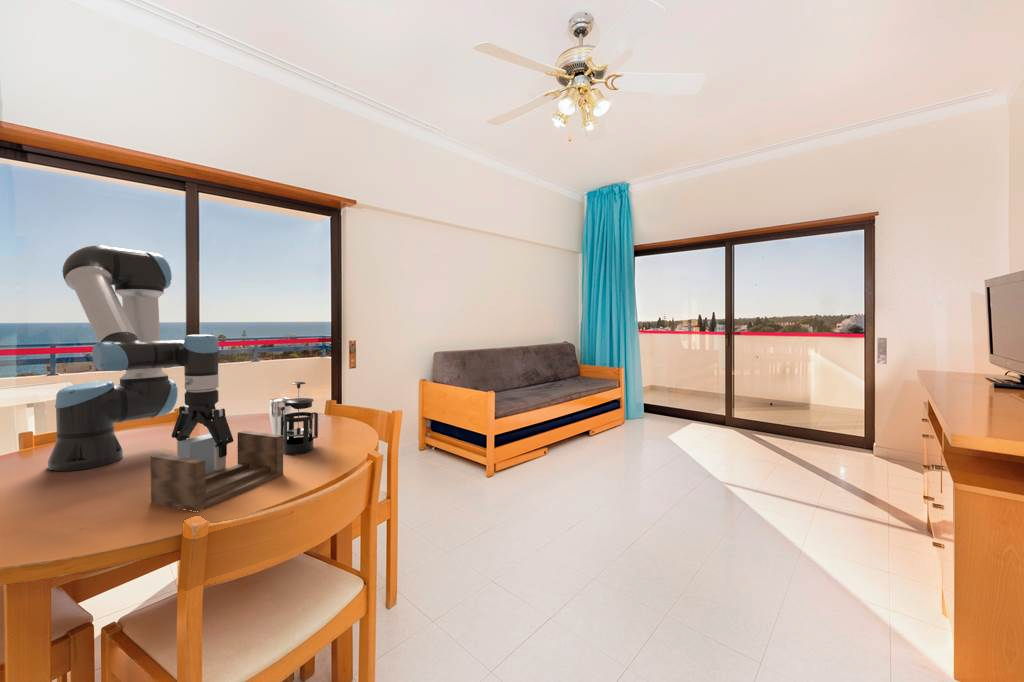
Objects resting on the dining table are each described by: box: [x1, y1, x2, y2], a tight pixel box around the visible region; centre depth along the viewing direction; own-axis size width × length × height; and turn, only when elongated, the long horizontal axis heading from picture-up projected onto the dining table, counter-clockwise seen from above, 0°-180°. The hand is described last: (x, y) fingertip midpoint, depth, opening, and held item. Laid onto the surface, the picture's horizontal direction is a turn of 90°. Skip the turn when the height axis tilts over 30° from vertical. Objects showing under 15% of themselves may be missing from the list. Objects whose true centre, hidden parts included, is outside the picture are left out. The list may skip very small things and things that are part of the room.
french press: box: [283, 381, 319, 456], centre depth 134 cm, size 12×9×23 cm
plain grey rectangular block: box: [176, 432, 226, 476], centre depth 113 cm, size 4×10×10 cm, turn 165°
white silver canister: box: [268, 397, 293, 441], centre depth 144 cm, size 7×7×15 cm
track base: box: [150, 430, 284, 513], centre depth 104 cm, size 14×24×11 cm, turn 165°
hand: (202, 465), depth 113 cm, fingers open, 12 cm apart
